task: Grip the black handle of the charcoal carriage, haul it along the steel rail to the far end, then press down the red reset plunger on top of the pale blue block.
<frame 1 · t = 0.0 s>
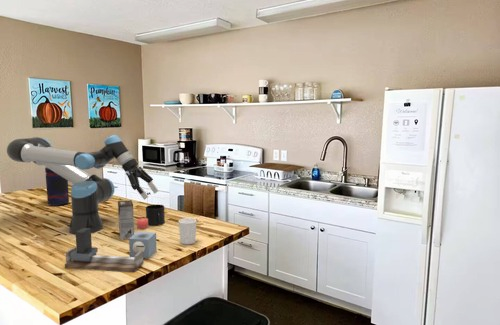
hand: (151, 195, 179), 15 cm above the counter, tool tilted 35°, fingers open, 13 cm apart
reset plunger: (142, 223, 139), point 13 cm above the counter, slide at 3.0 cm
pale blue block: (143, 254, 141), on the counter
white cup: (187, 242, 155), on the counter
carriage: (84, 244, 130), point 8 cm above the counter, slide at -8.0 cm
rail: (105, 265, 130), on the counter
coffee box: (126, 236, 162), on the counter
mug: (156, 224, 180), on the counter
striped navy bottle: (57, 204, 218), on the counter
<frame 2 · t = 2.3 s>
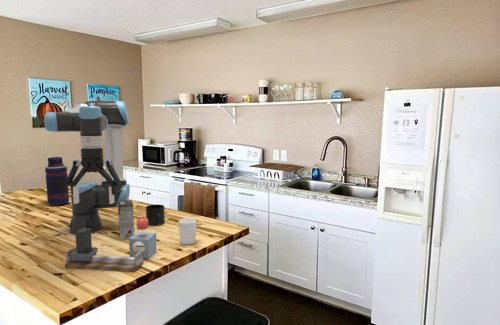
hand: (94, 203, 131), 23 cm above the counter, tool pointing down, fingers open, 13 cm apart
nothing on the counter moved.
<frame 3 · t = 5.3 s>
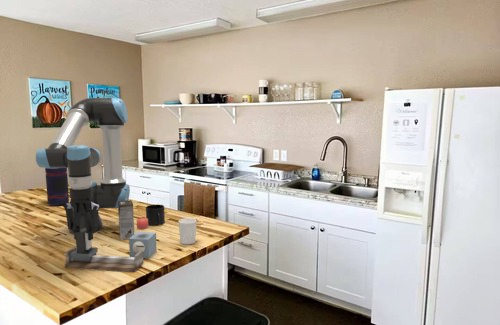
hand: (84, 247, 130), 7 cm above the counter, tool pointing down, fingers closed on carriage, 3 cm apart
carriage: (84, 244, 130), point 8 cm above the counter, slide at -8.0 cm, touching gripper
everything else where it was.
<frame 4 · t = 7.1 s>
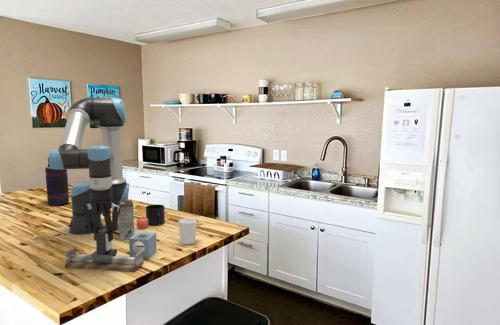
hand: (104, 248, 129), 7 cm above the counter, tool pointing down, fingers closed on carriage, 3 cm apart
carriage: (103, 245, 129), point 8 cm above the counter, slide at 0.0 cm, touching gripper
everything else where it was.
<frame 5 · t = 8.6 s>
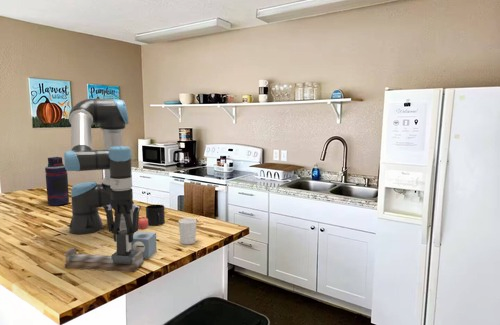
hand: (124, 249, 128), 7 cm above the counter, tool pointing down, fingers closed on carriage, 3 cm apart
carriage: (124, 246, 128), point 8 cm above the counter, slide at 7.9 cm, touching gripper
everything else where it was.
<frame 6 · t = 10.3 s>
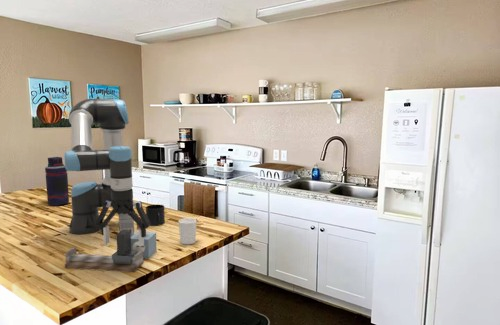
hand: (124, 244, 128), 9 cm above the counter, tool pointing down, fingers open, 13 cm apart
carriage: (124, 246, 128), point 8 cm above the counter, slide at 8.0 cm
everything else where it was.
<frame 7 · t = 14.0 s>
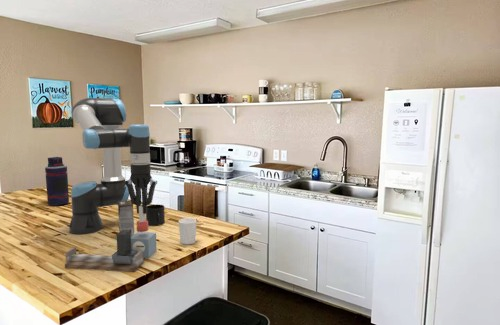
hand: (142, 221, 139), 14 cm above the counter, tool pointing down, fingers closed
reset plunger: (142, 225, 139), point 12 cm above the counter, slide at 2.1 cm, touching gripper
everything else where it was.
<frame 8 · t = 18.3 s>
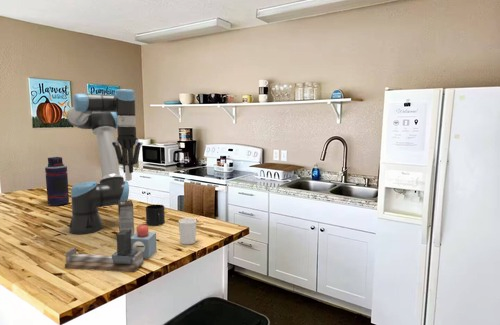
hand: (128, 180, 150), 28 cm above the counter, tool pointing down, fingers closed
reset plunger: (142, 230, 139), point 10 cm above the counter, slide at 0.1 cm
everything else where it was.
at the end: carriage slide at 8.0 cm; reset plunger slide at 0.1 cm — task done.
